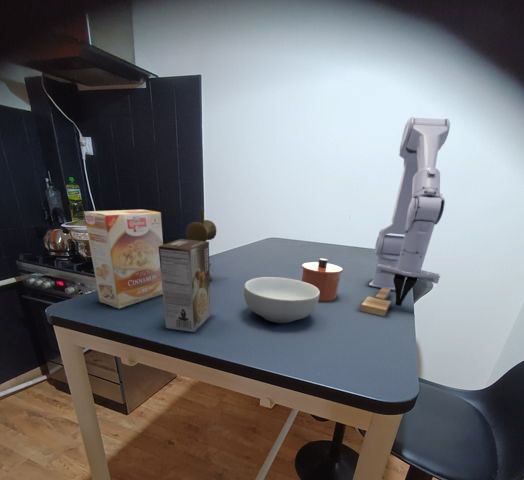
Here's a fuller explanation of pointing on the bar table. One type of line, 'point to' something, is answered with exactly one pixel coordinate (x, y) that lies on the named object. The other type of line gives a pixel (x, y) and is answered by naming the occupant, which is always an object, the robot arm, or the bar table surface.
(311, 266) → the pot lid
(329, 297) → the pot
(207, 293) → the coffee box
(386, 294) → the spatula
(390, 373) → the bar table surface
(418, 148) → the robot arm
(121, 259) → the coffeecake box
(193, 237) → the kendama
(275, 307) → the cereal bowl
